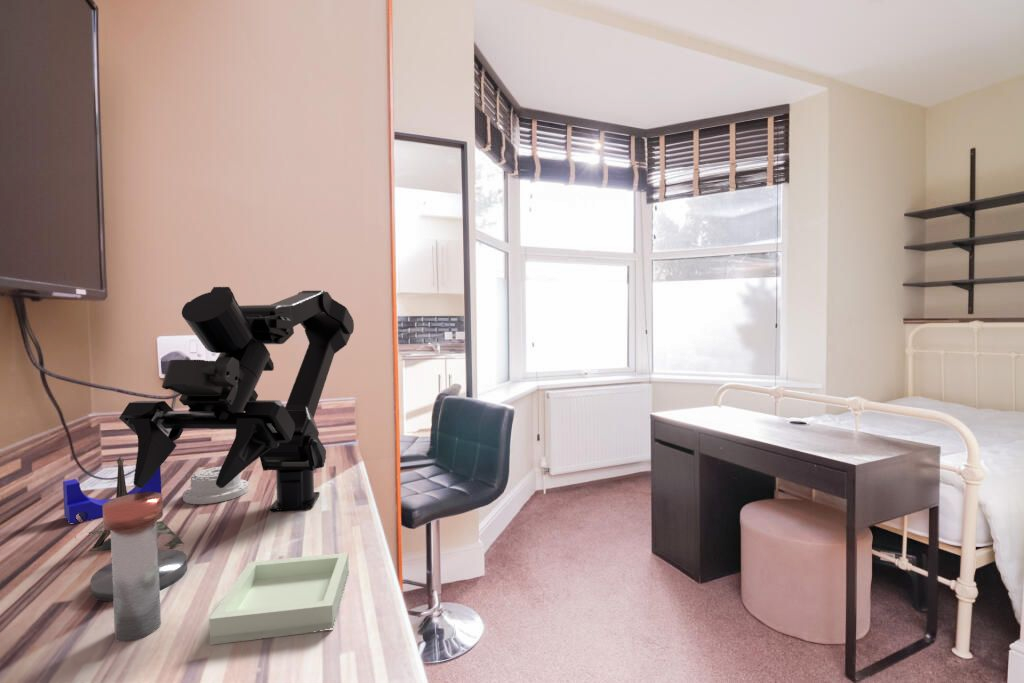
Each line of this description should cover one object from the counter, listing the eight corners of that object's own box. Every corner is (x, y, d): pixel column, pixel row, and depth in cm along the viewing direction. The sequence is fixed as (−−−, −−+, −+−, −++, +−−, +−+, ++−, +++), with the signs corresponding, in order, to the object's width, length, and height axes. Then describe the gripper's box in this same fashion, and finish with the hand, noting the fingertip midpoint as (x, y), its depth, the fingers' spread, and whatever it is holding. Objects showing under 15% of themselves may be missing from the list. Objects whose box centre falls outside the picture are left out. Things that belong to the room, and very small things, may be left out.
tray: (250, 583, 56) (249, 562, 56) (348, 573, 58) (348, 552, 58) (209, 644, 45) (209, 619, 45) (332, 630, 47) (332, 605, 47)
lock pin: (126, 618, 50) (120, 493, 49) (175, 612, 51) (171, 490, 50) (96, 647, 45) (90, 511, 45) (151, 641, 46) (146, 507, 45)
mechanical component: (223, 507, 80) (260, 486, 90) (222, 480, 80) (259, 463, 90) (168, 505, 81) (211, 485, 91) (167, 479, 81) (210, 462, 91)
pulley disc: (121, 564, 61) (120, 546, 61) (200, 557, 62) (199, 540, 62) (70, 605, 52) (69, 584, 52) (164, 596, 54) (163, 575, 54)
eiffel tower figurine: (186, 547, 67) (183, 452, 66) (90, 577, 59) (85, 469, 58) (157, 518, 76) (154, 435, 76) (71, 541, 69) (67, 448, 68)
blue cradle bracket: (70, 526, 73) (68, 487, 73) (64, 518, 76) (62, 481, 76) (164, 503, 82) (163, 468, 82) (156, 497, 85) (155, 463, 85)
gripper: (129, 335, 58) (42, 448, 48) (281, 333, 58) (228, 448, 47) (177, 390, 67) (112, 498, 56) (311, 390, 66) (272, 498, 56)
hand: (178, 486), depth 53 cm, fingers open, 9 cm apart
